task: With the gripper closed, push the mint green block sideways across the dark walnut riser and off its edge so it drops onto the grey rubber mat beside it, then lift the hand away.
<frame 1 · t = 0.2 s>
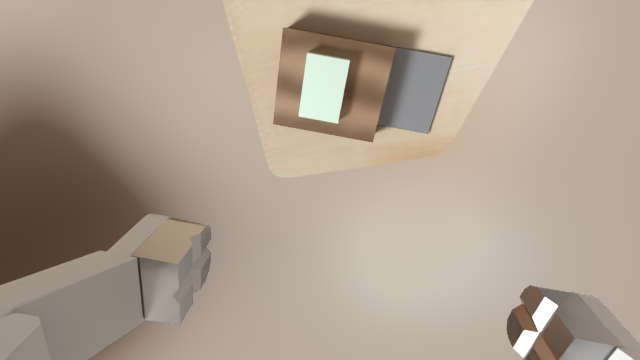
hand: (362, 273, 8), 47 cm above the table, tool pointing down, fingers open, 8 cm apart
mat: (412, 92, 52), on the table
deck: (332, 84, 52), on the table
mint green block: (324, 87, 49), point 4 cm above the table, touching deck
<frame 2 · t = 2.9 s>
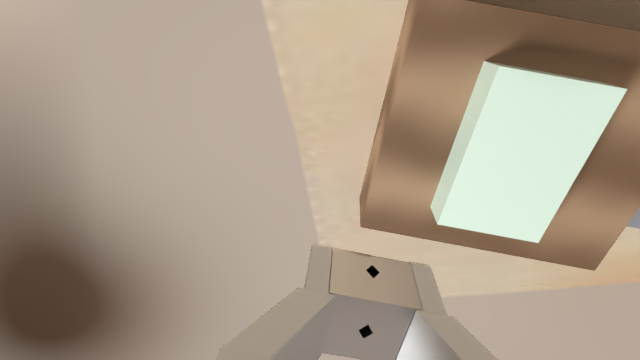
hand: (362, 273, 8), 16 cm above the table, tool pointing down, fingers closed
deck: (495, 132, 23), on the table
mint green block: (505, 150, 19), point 4 cm above the table, touching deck
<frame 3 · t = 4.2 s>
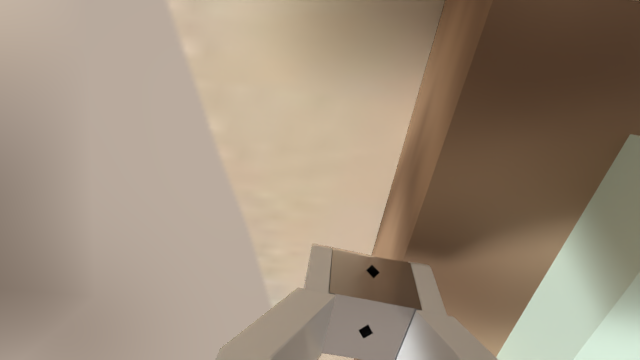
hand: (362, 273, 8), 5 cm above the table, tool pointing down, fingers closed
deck: (588, 229, 13), on the table
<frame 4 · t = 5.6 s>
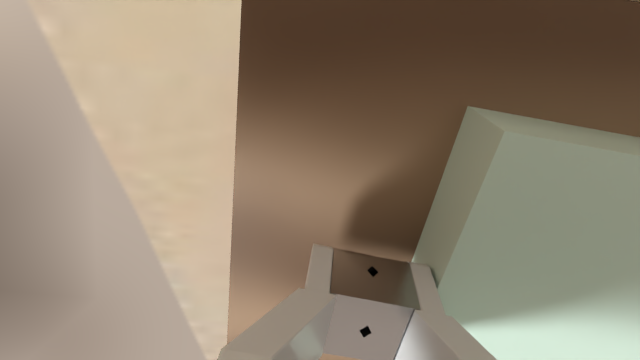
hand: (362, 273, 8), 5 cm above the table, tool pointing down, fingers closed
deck: (462, 207, 13), on the table
mint green block: (514, 278, 9), point 4 cm above the table
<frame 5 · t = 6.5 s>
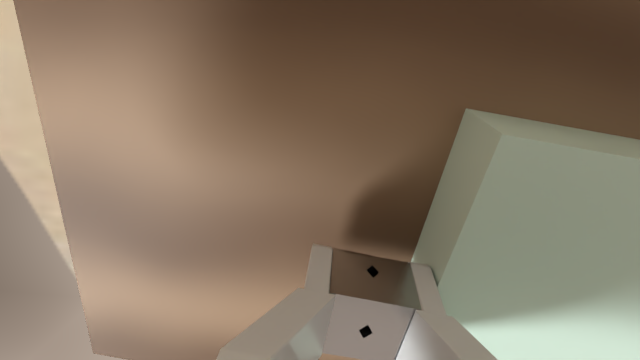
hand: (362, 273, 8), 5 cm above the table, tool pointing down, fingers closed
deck: (333, 183, 13), on the table
mint green block: (513, 279, 9), point 4 cm above the table, touching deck, gripper
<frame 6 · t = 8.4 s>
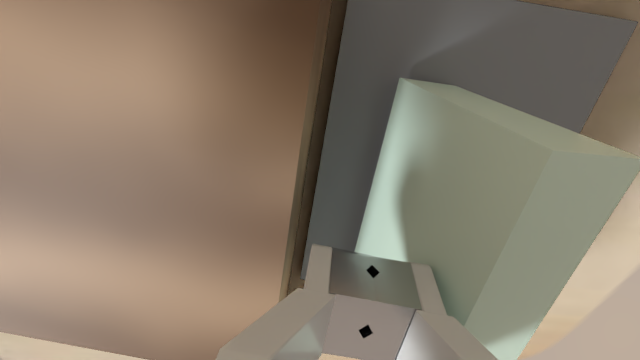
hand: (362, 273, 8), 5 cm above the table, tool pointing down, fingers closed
mat: (430, 173, 13), on the table
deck: (109, 139, 13), on the table
mint green block: (399, 252, 10), point 4 cm above the table, tilted 106°, touching mat
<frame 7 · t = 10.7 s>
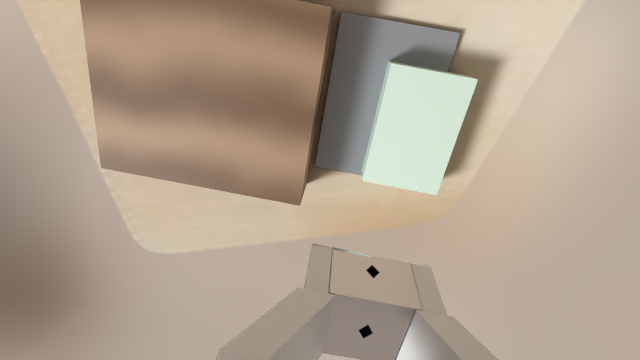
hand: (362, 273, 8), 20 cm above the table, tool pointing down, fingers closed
mat: (379, 105, 26), on the table
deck: (221, 89, 27), on the table
mint green block: (415, 134, 24), point 2 cm above the table, tilted 180°, touching mat
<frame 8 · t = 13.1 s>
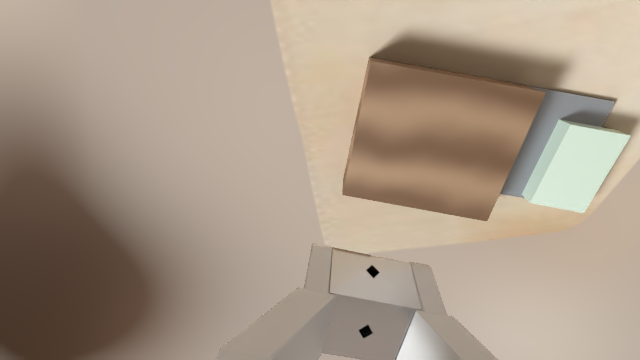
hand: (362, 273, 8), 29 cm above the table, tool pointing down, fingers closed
mat: (544, 148, 36), on the table
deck: (426, 136, 36), on the table
mint green block: (577, 171, 34), point 2 cm above the table, tilted 180°, touching mat
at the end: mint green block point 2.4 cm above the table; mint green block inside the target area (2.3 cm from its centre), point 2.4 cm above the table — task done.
